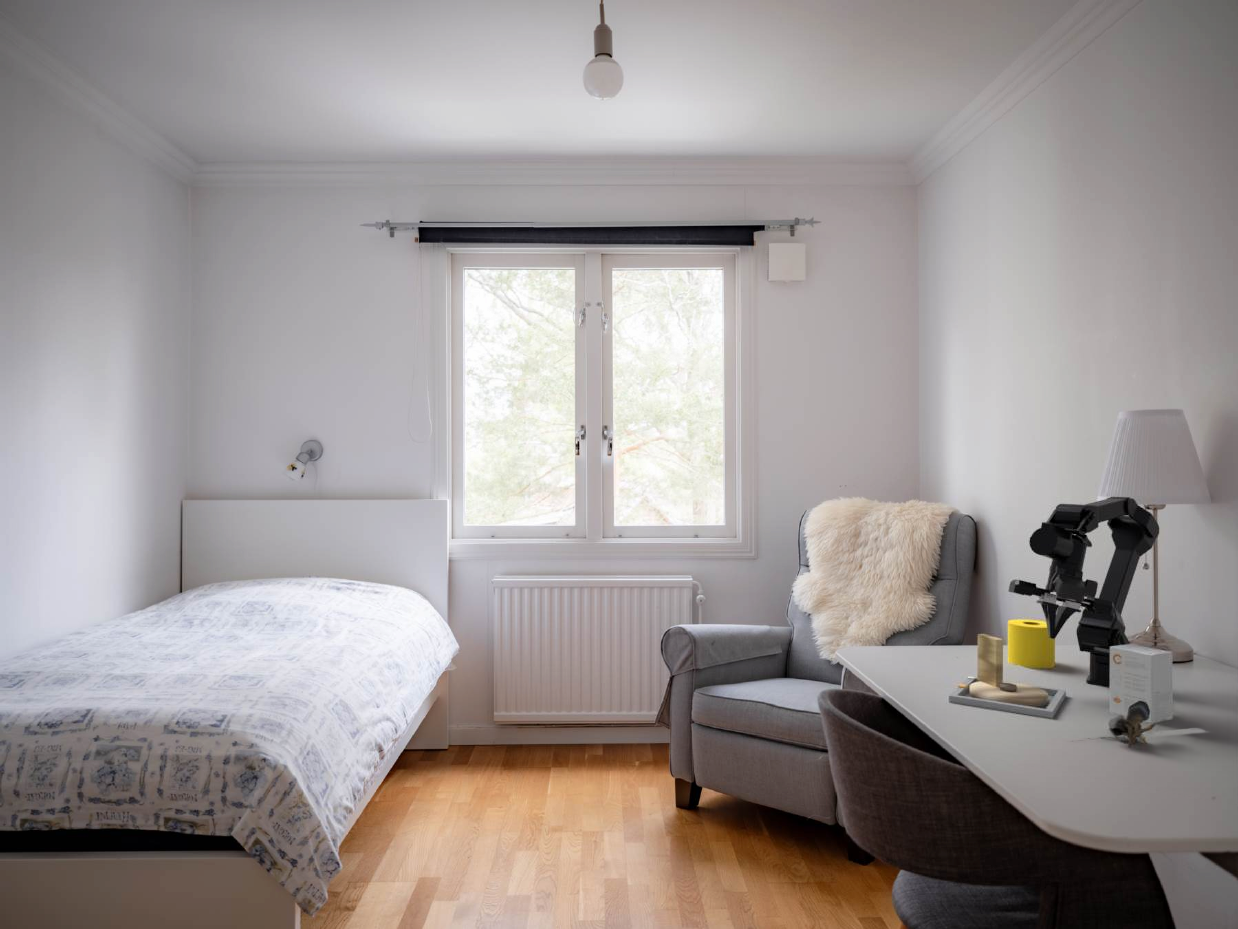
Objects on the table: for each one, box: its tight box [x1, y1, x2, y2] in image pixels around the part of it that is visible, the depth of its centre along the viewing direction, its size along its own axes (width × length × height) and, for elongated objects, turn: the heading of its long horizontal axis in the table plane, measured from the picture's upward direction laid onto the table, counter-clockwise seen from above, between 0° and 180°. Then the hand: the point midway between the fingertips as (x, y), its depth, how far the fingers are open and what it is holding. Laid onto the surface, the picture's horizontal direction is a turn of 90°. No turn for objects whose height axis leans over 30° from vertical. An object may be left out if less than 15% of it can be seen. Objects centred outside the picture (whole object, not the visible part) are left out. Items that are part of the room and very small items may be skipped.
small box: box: [1109, 643, 1174, 724], centre depth 156 cm, size 8×6×13 cm
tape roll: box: [1007, 618, 1056, 669], centre depth 199 cm, size 10×10×9 cm
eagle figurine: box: [1108, 701, 1156, 748], centre depth 144 cm, size 8×7×9 cm
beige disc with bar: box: [970, 633, 1048, 708], centre depth 166 cm, size 15×14×11 cm
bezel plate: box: [948, 676, 1067, 720], centre depth 166 cm, size 18×18×2 cm
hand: (1051, 638), depth 173 cm, fingers closed
